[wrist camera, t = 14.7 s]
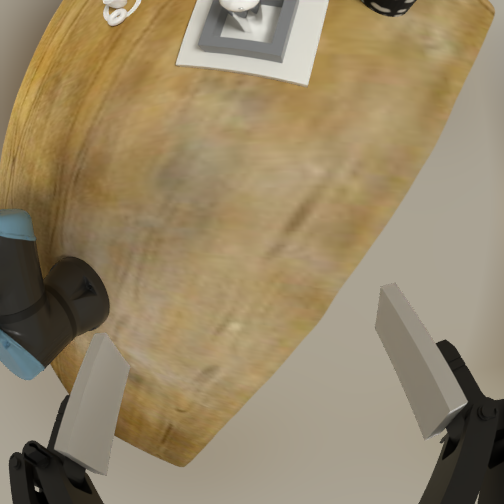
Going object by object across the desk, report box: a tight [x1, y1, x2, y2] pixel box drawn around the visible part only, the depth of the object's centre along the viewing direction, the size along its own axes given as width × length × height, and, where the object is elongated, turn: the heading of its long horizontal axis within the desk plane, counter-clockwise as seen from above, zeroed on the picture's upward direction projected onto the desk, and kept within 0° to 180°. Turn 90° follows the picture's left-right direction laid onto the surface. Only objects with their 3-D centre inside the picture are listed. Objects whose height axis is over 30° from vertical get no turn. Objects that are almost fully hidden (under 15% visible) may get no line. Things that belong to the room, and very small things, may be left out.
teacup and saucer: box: [103, 0, 141, 26], centre depth 27 cm, size 9×8×4 cm
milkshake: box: [219, 0, 263, 33], centre depth 24 cm, size 4×5×10 cm
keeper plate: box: [176, 0, 329, 87], centre depth 27 cm, size 18×15×4 cm
